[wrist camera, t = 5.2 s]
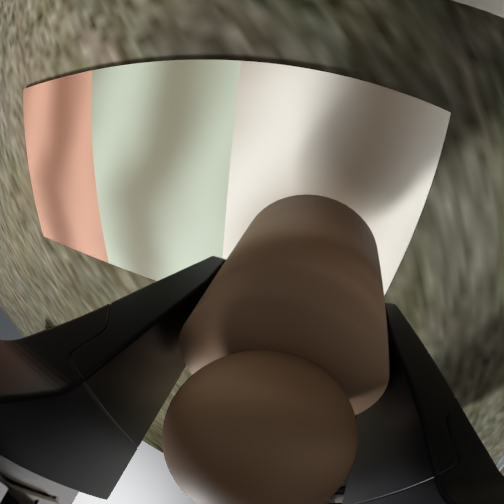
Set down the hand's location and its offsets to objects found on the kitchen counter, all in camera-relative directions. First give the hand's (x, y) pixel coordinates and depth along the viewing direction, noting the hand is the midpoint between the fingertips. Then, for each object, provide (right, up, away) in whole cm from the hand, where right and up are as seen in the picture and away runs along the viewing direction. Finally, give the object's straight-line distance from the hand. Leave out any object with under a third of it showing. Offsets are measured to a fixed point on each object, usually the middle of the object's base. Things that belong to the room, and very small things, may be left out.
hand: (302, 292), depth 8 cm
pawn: (0, +1, +1) cm, 2 cm away
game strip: (-6, +4, +5) cm, 9 cm away
